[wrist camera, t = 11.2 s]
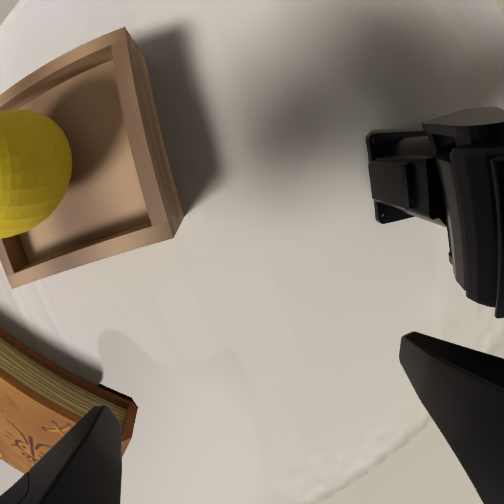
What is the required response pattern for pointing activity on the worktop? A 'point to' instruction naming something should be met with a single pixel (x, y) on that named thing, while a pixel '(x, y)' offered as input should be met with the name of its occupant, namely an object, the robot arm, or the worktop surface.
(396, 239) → the worktop surface
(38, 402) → the diary
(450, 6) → the worktop surface
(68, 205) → the walnut box
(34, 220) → the lemon
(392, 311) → the worktop surface
